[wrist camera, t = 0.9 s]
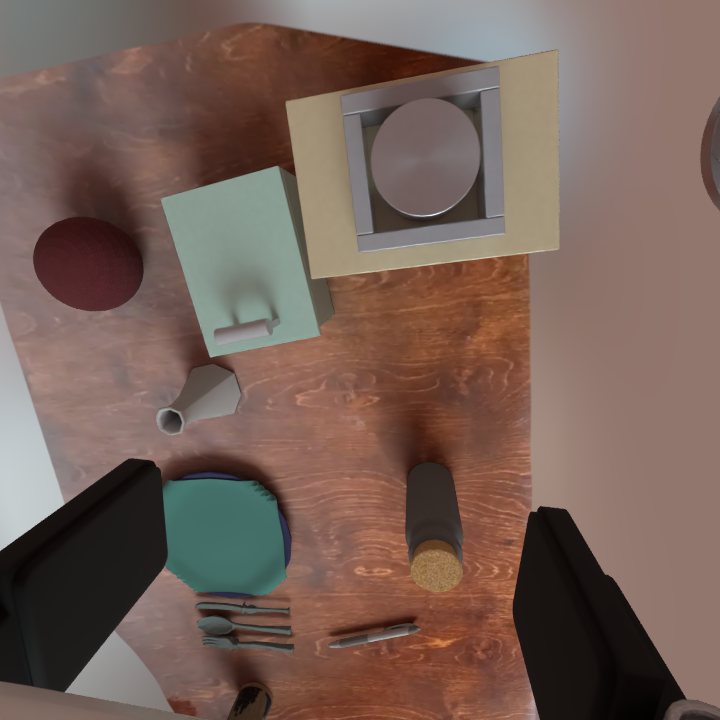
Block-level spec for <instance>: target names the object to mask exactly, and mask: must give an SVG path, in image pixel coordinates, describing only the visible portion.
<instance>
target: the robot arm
mask: <svg viewBox="0 0 720 720" xmlns="http://www.w3.org/2000/svg"><path fill="white" fill-rule="evenodd" d="M167 558H168V546H167V535H166V523H165V512H164V501H163V489H162V478H161V470H160V469H159V468H158V467H156V465H155V463H154V462H153V461H150V460H142V459H133V458H131V459H128V460H126V461H124V462H123V463H122V464H120V465H119V466H118V467H116V468H115V469H113V470H112V471H111V472H109V473H108V474H106V475H105V476H104V477H102V478H101V479H100V480H98V481H97V482H95V483H94V484H93V485H91V486H90V487H88V488H87V489H86V490H84V491H83V492H81V493H80V494H79V495H77V496H76V497H75V498H73V499H72V500H70V501H69V502H68V503H66V504H65V505H63V506H62V507H61V508H59V509H58V510H57V511H55V512H54V513H52V514H51V515H50V516H48V517H47V518H45V519H44V520H43V521H41V522H40V523H38V524H37V525H36V526H34V527H33V528H32V529H31V530H29V531H28V532H26V533H25V534H23V535H22V536H21V537H19V538H18V539H16V540H15V541H14V542H12V543H11V544H9V545H8V546H7V547H5V548H4V549H3V550H1V551H0V720H209V719H204V718H199V717H193V716H188V715H183V714H178V713H172V712H167V711H162V710H157V709H151V708H146V707H140V706H135V705H130V704H124V703H119V702H113V701H108V700H102V699H97V698H92V697H85V696H81V695H75V694H69V693H64V692H65V691H66V690H67V688H68V687H69V686H70V685H71V683H72V682H73V681H74V680H75V678H76V677H77V676H78V675H79V673H80V672H81V671H82V670H83V668H84V667H85V666H86V665H87V663H88V662H89V661H90V660H91V658H92V657H93V656H94V654H95V653H96V652H97V651H98V649H99V648H100V647H101V646H102V644H103V643H104V642H105V641H106V639H107V638H108V637H109V636H110V634H111V633H112V632H113V631H114V629H115V628H116V627H117V626H118V624H119V623H120V622H121V621H122V619H123V618H124V617H125V616H126V614H127V613H128V612H129V611H130V609H131V608H132V607H133V606H134V604H135V603H136V602H137V601H138V599H139V598H140V597H141V596H142V594H143V593H144V592H145V591H146V589H147V588H148V587H149V586H150V584H151V583H152V582H153V581H154V579H155V578H156V577H157V576H158V574H159V573H160V572H161V571H162V569H163V568H164V566H165V564H166V561H167ZM513 619H514V623H515V627H516V631H517V635H518V639H519V642H520V646H521V650H522V654H523V657H524V661H525V665H526V669H527V673H528V676H529V680H530V684H531V688H532V692H533V695H534V699H535V703H536V707H537V710H538V714H539V718H540V720H720V709H719V708H717V707H716V706H713V705H710V704H707V703H704V702H701V701H698V700H687V699H686V698H685V696H684V694H683V692H682V691H681V689H680V687H679V686H678V684H677V682H676V681H675V679H674V677H673V676H672V674H671V673H670V671H669V669H668V667H667V666H666V664H665V662H664V661H663V659H662V657H661V656H660V654H659V653H658V651H657V649H656V648H655V646H654V644H653V643H652V641H651V639H650V638H649V636H648V634H647V633H646V631H645V629H644V628H643V626H642V624H641V623H640V621H639V620H638V618H637V616H636V614H635V613H634V611H633V609H632V608H631V606H630V605H629V603H628V601H627V600H626V598H625V596H624V595H623V593H622V591H621V590H620V588H619V586H618V585H617V583H616V582H615V581H614V579H613V578H612V577H610V576H609V575H605V574H604V572H603V571H602V569H601V567H600V565H599V564H598V562H597V560H596V559H595V557H594V555H593V554H592V552H591V550H590V548H589V547H588V545H587V543H586V542H585V540H584V538H583V536H582V535H581V533H580V531H579V530H578V528H577V526H576V524H575V523H574V521H573V519H572V517H571V516H570V514H569V513H568V511H567V510H566V509H559V508H551V507H542V506H540V507H539V508H538V510H537V512H530V514H529V517H528V523H527V528H526V534H525V539H524V545H523V550H522V556H521V561H520V567H519V572H518V578H517V583H516V589H515V594H514V600H513Z"/></svg>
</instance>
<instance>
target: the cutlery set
mask: <svg viewBox="0 0 720 720" xmlns="http://www.w3.org/2000/svg"><path fill="white" fill-rule="evenodd" d="M162 489H163V501H164V512H165V523H166V535H167V546H168V558H167V561H166V564H165V566H166V568H167V569H168V570H170V571H171V572H172V574H175V575H176V576H177V578H179V579H181V580H182V581H183V582H184V583H186V584H187V585H188V586H189V587H191V588H193V590H194V591H197V592H206V593H208V594H211V595H217V596H222V597H228V598H238V597H249V596H253V595H266V594H268V593H270V592H271V591H272V590H273V589H274V588H275V587H277V586H278V585H279V584H280V583H281V582H282V581H283V580H284V579H285V578H286V577H287V575H286V570H285V569H286V567H287V565H288V563H289V561H290V557H291V535H290V532H289V528H288V525H287V522H286V518H285V517H284V515H283V514H282V512H281V511H280V509H279V508H278V506H277V499H276V497H275V495H273V494H271V493H270V492H269V491H268V490H266V489H265V488H264V486H262V485H260V484H259V482H258V481H254V480H253V481H246V480H244V479H242V478H240V477H238V476H235V475H233V474H227V473H221V472H214V471H206V472H199V473H193V474H188V475H186V476H184V477H183V478H181V479H179V480H177V481H171V480H167V481H166V483H165V484H164V486H163V487H162ZM195 608H203V609H222V610H240V611H242V615H243V613H244V612H248V613H249V614H252V613H256V612H283V613H288V614H289V612H290V607H289V608H288V609H271V608H258V607H256V606H254V605H249V606H246V605H245V602H244V604H243V606H241V605H236V604H229V603H215V602H201V603H198V604H196V606H195ZM197 625H198V628H200V629H202V630H203V631H205V632H208V633H212V634H217V635H218V634H227V633H229V632H230V631H232V630H233V629H234V628H235V627H239V628H244V629H251V630H256V631H263V632H272V633H281V634H289V635H290V634H291V626H259V625H249V624H239V623H234V622H231V621H230V620H228V619H227V618H225V617H222V616H218V615H213V616H207V617H204V618H202V619H200V620H199V621H197ZM202 639H206V640H202V642H208V643H203V645H210V646H216V647H220V648H225V649H229V650H231V651H232V650H233V648H234V649H236V650H237V649H238V648H262V649H269V650H275V651H281V652H289V653H293V651H294V644H278V643H271V642H259V641H252V642H239V639H237V638H235V637H232V636H218V637H217V636H204V637H202Z"/></svg>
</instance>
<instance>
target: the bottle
mask: <svg viewBox="0 0 720 720" xmlns="http://www.w3.org/2000/svg"><path fill="white" fill-rule="evenodd" d="M405 530H406V542H407V545H408V547H409V560H410V563H411V566H410V571H411V575H412V577H413V579H414V581H415V582H416V583H417V584H418V585H419V586H420V587H422V588H424V589H426V590H429V591H432V592H444V591H447V590H450V589H452V588H454V587H455V586H456V585H457V584H458V583H459V582H460V580H461V578H462V573H463V570H462V565H461V563H462V559H463V556H462V549H461V547H462V544H463V532H462V526H461V519H460V514H459V508H458V502H457V497H456V491H455V486H454V481H453V477H452V475H451V473H450V472H449V471H448V470H447V469H446V468H445V467H444V466H442V465H440V464H438V463H433V462H427V463H422V464H419V465H417V466H416V467H414V468H413V469H412V470H411V472H410V474H409V476H408V479H407V494H406V528H405Z"/></svg>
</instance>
